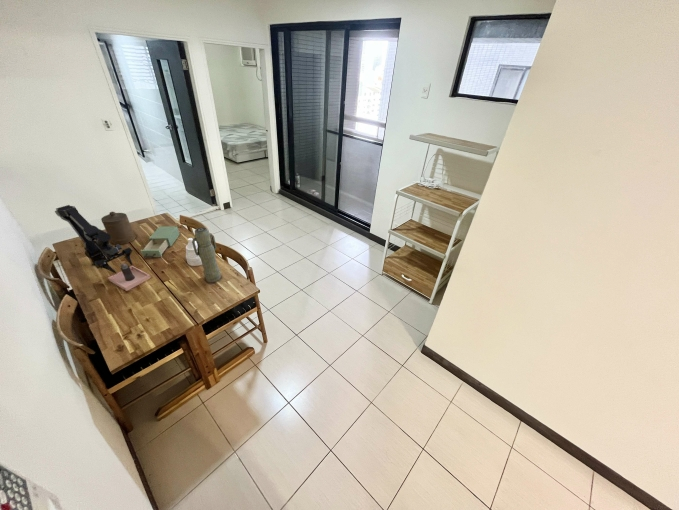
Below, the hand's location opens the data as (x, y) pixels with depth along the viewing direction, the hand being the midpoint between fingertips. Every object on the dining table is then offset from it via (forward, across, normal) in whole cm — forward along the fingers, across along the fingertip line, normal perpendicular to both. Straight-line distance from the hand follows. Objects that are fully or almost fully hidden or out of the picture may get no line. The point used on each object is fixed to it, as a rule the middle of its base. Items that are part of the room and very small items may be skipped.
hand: (124, 269), depth 162 cm
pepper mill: (+6, 0, +3) cm, 7 cm away
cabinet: (-10, +39, +20) cm, 45 cm away
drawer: (-4, +25, +13) cm, 29 cm away
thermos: (+35, +27, -25) cm, 50 cm away
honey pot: (+18, +34, -8) cm, 40 cm away
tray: (+6, 0, +4) cm, 7 cm away
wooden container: (-28, +24, +39) cm, 53 cm away
